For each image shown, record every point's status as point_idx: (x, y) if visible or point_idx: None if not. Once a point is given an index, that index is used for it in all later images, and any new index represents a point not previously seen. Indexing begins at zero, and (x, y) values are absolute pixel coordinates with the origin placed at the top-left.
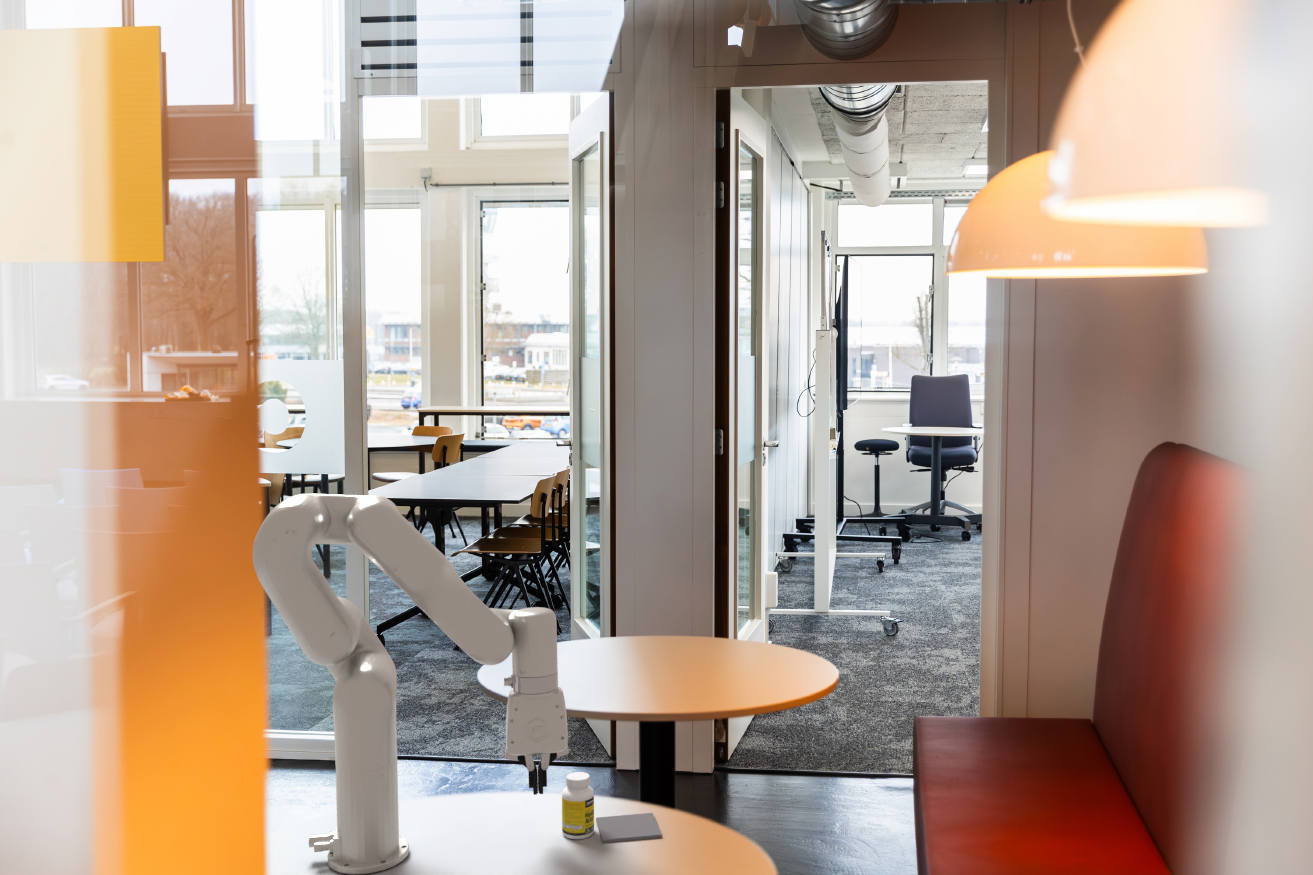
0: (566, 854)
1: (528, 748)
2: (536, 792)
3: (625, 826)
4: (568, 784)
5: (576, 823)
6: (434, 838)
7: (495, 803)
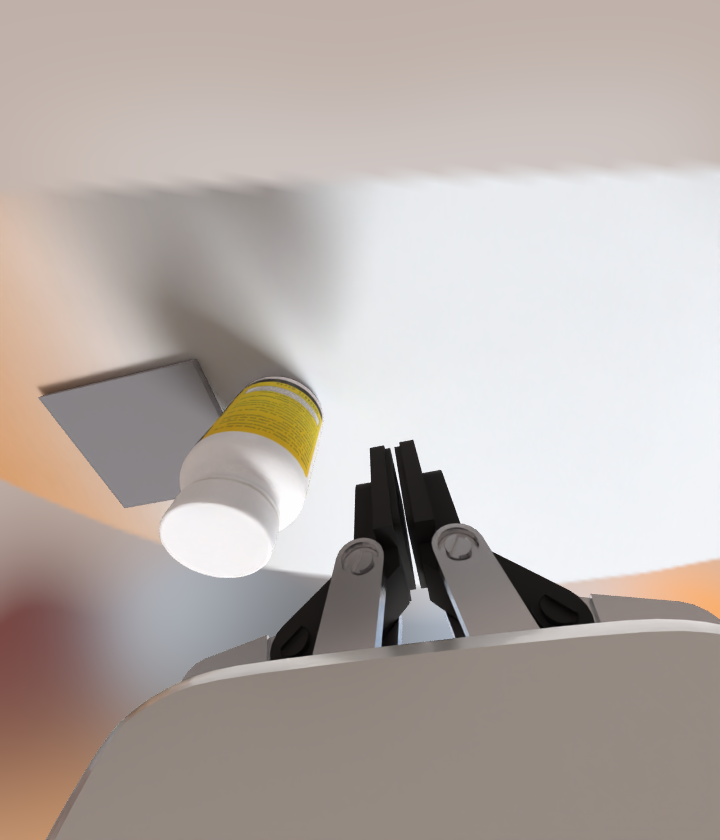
0: (279, 276)
1: (566, 725)
2: (400, 444)
3: (159, 440)
4: (256, 494)
5: (260, 393)
6: (689, 378)
7: (510, 550)
